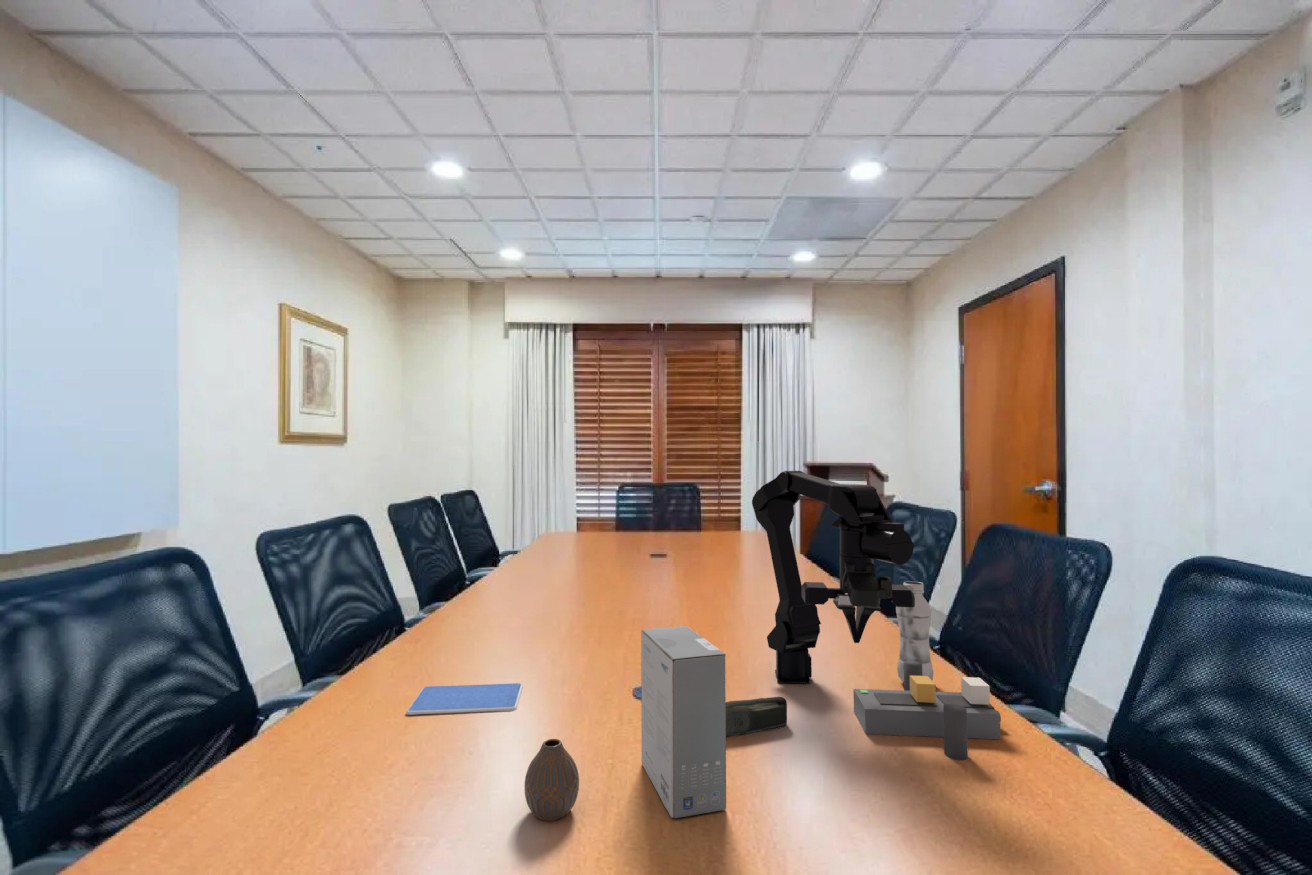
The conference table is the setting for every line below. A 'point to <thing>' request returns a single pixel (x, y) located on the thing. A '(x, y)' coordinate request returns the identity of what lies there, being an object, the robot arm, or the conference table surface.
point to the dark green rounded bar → (755, 715)
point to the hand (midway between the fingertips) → (856, 642)
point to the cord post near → (955, 731)
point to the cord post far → (911, 672)
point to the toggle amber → (923, 689)
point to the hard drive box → (684, 720)
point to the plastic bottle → (915, 632)
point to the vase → (551, 782)
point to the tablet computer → (466, 699)
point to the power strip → (920, 714)
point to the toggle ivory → (975, 690)
